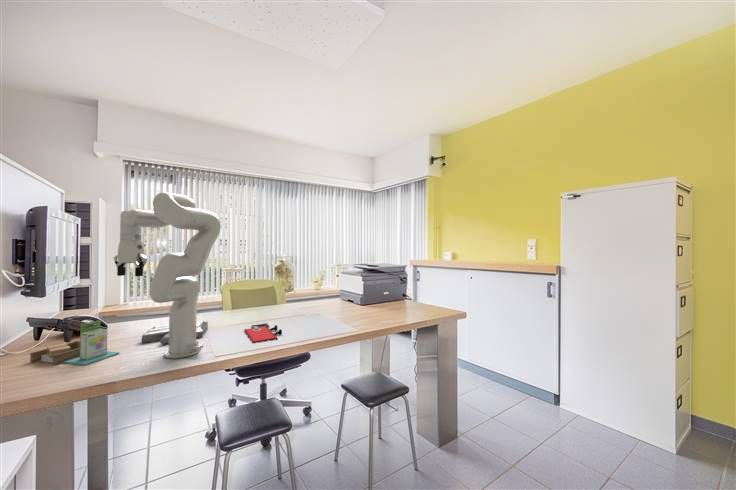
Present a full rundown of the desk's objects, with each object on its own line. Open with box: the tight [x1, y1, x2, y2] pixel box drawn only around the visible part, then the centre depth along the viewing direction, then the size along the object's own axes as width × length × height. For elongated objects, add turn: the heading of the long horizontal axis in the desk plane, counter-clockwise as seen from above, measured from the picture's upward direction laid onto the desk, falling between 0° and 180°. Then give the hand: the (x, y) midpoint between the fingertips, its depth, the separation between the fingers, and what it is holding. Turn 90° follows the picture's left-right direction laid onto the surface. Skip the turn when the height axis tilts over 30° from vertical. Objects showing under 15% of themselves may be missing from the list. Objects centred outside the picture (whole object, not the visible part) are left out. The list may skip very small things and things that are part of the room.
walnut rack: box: [29, 340, 80, 366], centre depth 114 cm, size 12×15×4 cm
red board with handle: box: [243, 322, 283, 344], centre depth 149 cm, size 30×3×15 cm
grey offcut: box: [40, 354, 53, 363], centre depth 111 cm, size 8×6×2 cm
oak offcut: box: [46, 343, 71, 358], centre depth 111 cm, size 8×5×2 cm
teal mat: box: [63, 350, 120, 367], centre depth 112 cm, size 10×12×1 cm
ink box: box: [79, 319, 108, 360], centre depth 112 cm, size 7×4×13 cm, turn 165°
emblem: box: [141, 320, 209, 345], centre depth 142 cm, size 28×5×28 cm
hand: (130, 275), depth 131 cm, fingers open, 9 cm apart
